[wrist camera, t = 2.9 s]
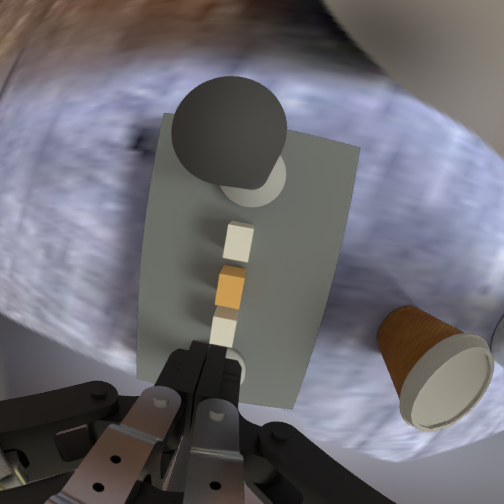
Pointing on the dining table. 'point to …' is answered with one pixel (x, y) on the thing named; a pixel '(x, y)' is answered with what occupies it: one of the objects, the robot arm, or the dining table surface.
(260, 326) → the panel
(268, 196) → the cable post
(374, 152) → the dining table surface
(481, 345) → the disposable coffee cup
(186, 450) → the cable post
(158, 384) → the robot arm
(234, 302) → the orange small block
